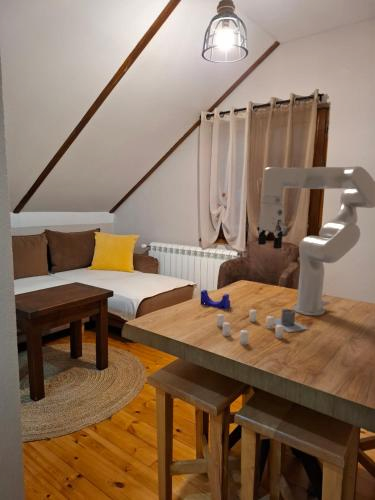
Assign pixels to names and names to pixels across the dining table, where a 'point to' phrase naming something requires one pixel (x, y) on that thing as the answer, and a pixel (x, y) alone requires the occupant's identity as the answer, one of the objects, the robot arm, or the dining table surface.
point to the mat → (291, 328)
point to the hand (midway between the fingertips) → (269, 246)
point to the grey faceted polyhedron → (287, 317)
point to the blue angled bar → (219, 304)
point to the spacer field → (244, 332)
